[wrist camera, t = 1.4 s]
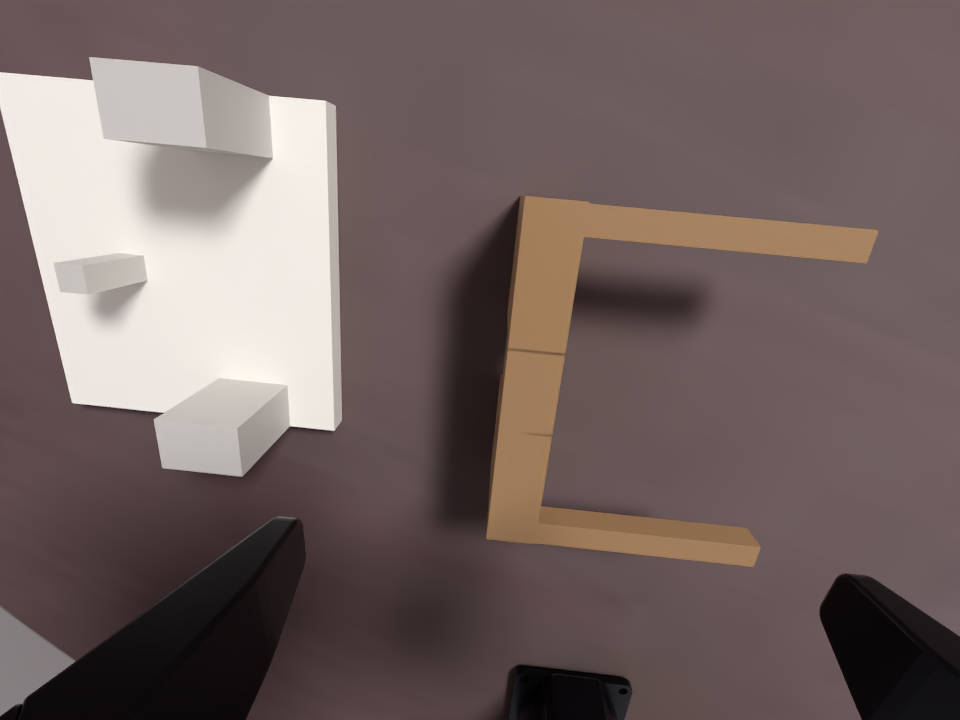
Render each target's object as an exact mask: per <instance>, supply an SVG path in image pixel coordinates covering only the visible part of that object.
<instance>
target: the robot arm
mask: <svg viewBox="0 0 960 720" xmlns="http://www.w3.org/2000/svg"><path fill="white" fill-rule="evenodd" d="M305 557H306V552H305V542H304V533H303V524H302V522H301V520H300V519H298V518H290V517H280V516H279V517H275V518H273V519H271V520H270V521H268V522H267V523H266V524H264V525H263V526H262V527H260V528H259V529H257V530H256V531H255V532H253V533H252V534H251V535H249V536H248V537H246V538H245V539H244V540H242V541H241V542H240V543H238V544H237V545H235V546H234V547H233V548H231V549H230V550H229V551H227V552H226V553H224V554H223V555H222V556H220V557H219V558H218V559H216V560H215V561H213V562H212V563H211V564H209V565H208V566H207V567H205V568H204V569H202V570H201V571H200V572H198V573H197V574H196V575H194V576H193V577H191V578H190V579H189V580H187V581H186V582H185V583H183V584H182V585H180V586H179V587H178V588H176V589H175V590H174V591H172V592H171V593H169V594H168V595H167V596H165V597H164V598H163V599H161V600H160V601H158V602H157V603H156V604H154V605H153V606H152V607H150V608H149V609H147V610H146V611H145V612H143V613H142V614H141V615H139V616H138V617H136V618H135V619H134V620H132V621H131V622H130V623H128V624H127V625H125V626H124V627H123V628H121V629H120V630H119V631H117V632H116V633H114V634H113V635H112V636H110V637H109V638H108V639H106V640H105V641H103V642H102V643H101V644H99V645H98V646H97V647H95V648H94V649H92V650H91V651H90V652H88V653H87V654H86V655H84V656H83V657H81V658H80V659H79V660H77V661H76V662H74V663H73V664H72V665H70V666H69V667H68V668H66V669H65V670H63V671H62V672H61V673H59V674H58V675H57V676H55V677H54V678H53V679H51V680H50V681H48V682H47V683H46V684H44V685H43V686H42V687H40V688H39V689H38V690H36V691H35V692H33V693H32V694H31V695H29V696H28V697H27V698H26V699H25V700H24V702H23V705H22V704H17V705H15V706H14V707H12V708H11V709H9V710H8V711H7V712H5V713H4V714H3V715H1V716H0V720H246V718H247V715H248V713H249V711H250V709H251V707H252V704H253V702H254V700H255V698H256V696H257V693H258V691H259V689H260V687H261V685H262V682H263V680H264V678H265V675H266V673H267V671H268V668H269V666H270V664H271V661H272V658H273V655H274V653H275V650H276V647H277V644H278V641H279V638H280V635H281V633H282V630H283V627H284V624H285V621H286V618H287V615H288V612H289V609H290V606H291V603H292V600H293V597H294V594H295V591H296V589H297V586H298V583H299V580H300V577H301V574H302V571H303V568H304V564H305ZM820 619H821V622H822V625H823V627H824V630H825V632H826V634H827V637H828V639H829V642H830V644H831V647H832V649H833V651H834V654H835V656H836V659H837V661H838V664H839V666H840V668H841V671H842V673H843V676H844V678H845V681H846V683H847V685H848V688H849V690H850V693H851V695H852V698H853V700H854V702H855V705H856V707H857V710H858V712H859V714H860V716H861V719H862V720H960V636H958V635H957V634H955V633H954V632H952V631H951V630H949V629H948V628H946V627H945V626H943V625H942V624H940V623H939V622H937V621H936V620H934V619H933V618H932V617H930V616H929V615H927V614H926V613H924V612H923V611H921V610H920V609H918V608H917V607H915V606H914V605H912V604H911V603H909V602H908V601H906V600H905V599H903V598H902V597H900V596H899V595H897V594H896V593H894V592H893V591H891V590H890V589H888V588H887V587H886V586H884V585H883V584H881V583H880V582H878V581H877V580H875V579H873V578H871V577H869V576H865V575H856V574H846V573H845V574H841V575H839V576H838V577H837V578H836V579H835V581H834V583H833V584H832V586H831V588H830V589H829V591H828V593H827V595H826V596H825V598H824V600H823V601H822V603H821V605H820ZM631 695H632V688H631V684H630V682H629V680H627V679H625V678H618V677H610V676H601V675H593V674H584V673H576V672H567V671H559V670H550V669H542V668H533V667H519V668H517V669H516V671H515V676H514V682H513V689H512V695H511V701H510V707H509V714H508V720H624V719H625V715H626V712H627V708H628V705H629V701H630V698H631Z"/></svg>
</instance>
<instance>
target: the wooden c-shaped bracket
mask: <svg viewBox="0 0 960 720" xmlns="http://www.w3.org/2000/svg"><path fill="white" fill-rule="evenodd" d="M878 231H879V230H870V229H859V228H849V227H838V226H827V225H816V224H805V223H794V222H783V221H773V220H762V219H751V218H740V217H729V216H718V215H707V214H696V213H685V212H675V211H664V210H653V209H642V208H631V207H620V206H609V205H598V204H589V202H585V201H575V200H564V199H553V198H542V197H531V196H520V202H519V211H518V220H517V229H516V238H515V247H514V257H513V266H512V275H511V284H510V293H509V302H508V311H507V326H508V333H507V342H506V351H505V360H504V369H503V375H502V374H501V375H500V384H499V394H498V403H497V412H496V421H495V430H494V439H493V448H492V457H491V468H490V486H489V503H488V520H487V537H486V539H491V540H500V541H510V542H519V543H528V544H535V543H538V544H547V545H557V546H566V547H575V548H584V549H594V550H603V551H612V552H621V553H631V554H640V555H649V556H658V557H667V558H677V559H686V560H695V561H704V562H714V563H723V564H732V565H741V566H751V567H754V564H755V561H756V559H757V556H758V553H759V551H760V548H761V547H760V545H759V544H758V543H757V541H756V540H755V538H754V537H753V536H752V534H751V533H750V532H749V530H748V529H747V528H741V527H732V526H722V525H713V524H704V523H694V522H685V521H675V520H666V519H657V518H647V517H638V516H628V515H619V514H610V513H600V512H591V511H581V510H572V509H563V508H553V507H544V506H541V503H542V496H543V490H544V484H545V477H546V471H547V465H548V459H549V452H550V446H551V440H552V433H553V427H554V421H555V415H556V408H557V402H558V396H559V389H560V383H561V377H562V371H563V364H564V358H565V352H566V346H567V339H568V333H569V327H570V320H571V314H572V308H573V302H574V295H575V289H576V283H577V276H578V270H579V264H580V258H581V251H582V245H583V239H584V237H591V238H602V239H613V240H623V241H634V242H645V243H656V244H666V245H677V246H688V247H698V248H709V249H720V250H730V251H741V252H752V253H763V254H773V255H784V256H795V257H805V258H816V259H827V260H837V261H848V262H859V263H867V261H868V258H869V256H870V253H871V250H872V248H873V245H874V242H875V239H876V237H877V234H878Z"/></svg>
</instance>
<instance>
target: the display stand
mask: <svg viewBox="0 0 960 720" xmlns="http://www.w3.org/2000/svg"><path fill="white" fill-rule="evenodd" d="M89 59H90V65H91V70H92V76H93V80H81V79H70V78H58V77H47V76H36V75H24V74H13V73H1V72H0V108H1V112H2V116H3V120H4V124H5V129H6V133H7V137H8V141H9V145H10V149H11V153H12V157H13V161H14V166H15V170H16V174H17V178H18V182H19V186H20V190H21V194H22V198H23V203H24V207H25V211H26V215H27V219H28V223H29V227H30V231H31V235H32V240H33V244H34V248H35V252H36V256H37V260H38V264H39V268H40V272H41V277H42V281H43V285H44V289H45V293H46V297H47V301H48V305H49V309H50V314H51V318H52V322H53V326H54V330H55V334H56V338H57V342H58V346H59V351H60V355H61V359H62V363H63V367H64V371H65V375H66V379H67V383H68V388H69V392H70V396H71V400H72V403H76V404H86V405H95V406H105V407H114V408H124V409H133V410H142V411H152V412H161V413H163V414H162V415H160V416H158V417H157V418H155V419H154V424H155V430H156V435H157V441H158V446H159V452H160V458H161V463H162V468H167V469H176V470H185V471H195V472H204V473H213V474H222V475H231V476H240V477H243V476H244V474H245V473H246V472H247V471H248V470H249V469H250V468H251V467H252V466H253V465H254V464H255V463H256V462H257V461H258V460H259V459H260V458H261V456H262V455H263V454H264V453H265V452H266V451H267V450H268V449H269V448H270V447H271V446H272V445H273V444H274V443H275V442H276V441H277V440H278V438H279V437H280V436H281V435H282V434H283V433H284V432H285V431H286V430H287V429H288V428H289V427H290V426H293V427H303V428H312V429H322V430H331V431H335V429H336V428H337V427H338V425H339V424H340V422H341V421H342V395H341V344H340V293H339V242H338V192H337V141H336V106H335V105H333V104H331V103H329V102H327V101H321V100H310V99H299V98H287V97H276V96H268V95H266V94H263V93H261V92H258V91H256V90H254V89H251V88H249V87H246V86H244V85H241V84H239V83H237V82H234V81H232V80H229V79H227V78H225V77H222V76H220V75H217V74H215V73H212V72H210V71H208V70H205V69H203V68H200V67H198V66H187V65H175V64H164V63H152V62H141V61H129V60H117V59H106V58H94V57H89Z"/></svg>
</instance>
